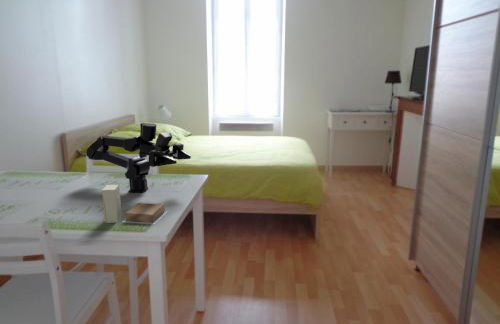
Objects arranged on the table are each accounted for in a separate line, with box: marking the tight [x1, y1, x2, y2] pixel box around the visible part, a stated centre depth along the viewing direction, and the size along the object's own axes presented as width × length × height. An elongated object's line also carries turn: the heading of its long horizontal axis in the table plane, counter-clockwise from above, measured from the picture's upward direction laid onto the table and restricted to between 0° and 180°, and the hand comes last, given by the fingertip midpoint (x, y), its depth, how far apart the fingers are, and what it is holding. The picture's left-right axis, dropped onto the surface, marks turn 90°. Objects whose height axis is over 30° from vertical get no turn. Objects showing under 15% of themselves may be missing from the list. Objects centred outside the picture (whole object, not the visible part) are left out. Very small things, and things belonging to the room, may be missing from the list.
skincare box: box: [101, 183, 123, 224], centre depth 127 cm, size 6×4×12 cm
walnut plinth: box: [124, 202, 165, 223], centre depth 130 cm, size 10×10×3 cm
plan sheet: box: [121, 210, 169, 225], centre depth 131 cm, size 12×12×1 cm
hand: (183, 159), depth 146 cm, fingers open, 9 cm apart
